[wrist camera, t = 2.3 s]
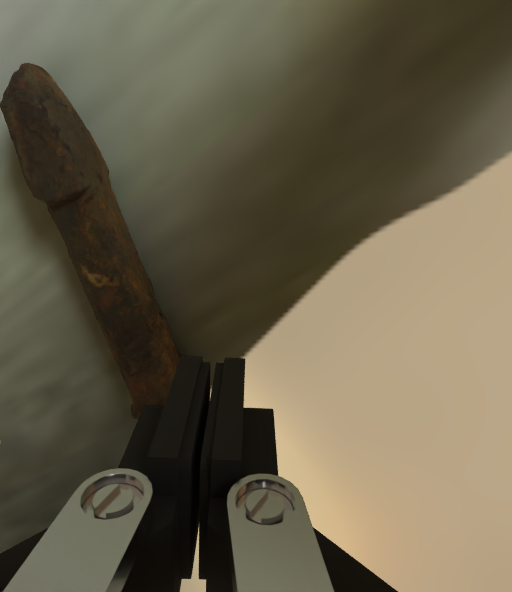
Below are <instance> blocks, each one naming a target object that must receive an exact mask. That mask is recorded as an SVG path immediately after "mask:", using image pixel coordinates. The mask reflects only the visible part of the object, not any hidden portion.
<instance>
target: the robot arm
mask: <svg viewBox="0 0 512 592" xmlns="http://www.w3.org/2000/svg"><path fill="white" fill-rule="evenodd" d="M244 375H245V359H241V358H225V360H224V363H216V368H215V374H214V380H213V386H212V392H211V398H210V363H208V362H203V357H195V356H181V358H180V361H179V364H178V367H177V370H176V373H175V376H174V379H173V382H172V385H171V388H170V391H169V394H168V397H167V400H166V403H165V405H164V404H145V406H144V407H143V410H142V412H141V414H140V417H139V419H138V422H137V424H136V426H135V429H134V431H133V434H132V436H131V439H130V441H129V443H128V446H127V448H126V451H125V453H124V455H123V458H122V460H121V463H120V465H119V467H118V468H117V469H111V470H106V471H103V472H100V473H98V474H95V475H93V476H92V477H90V478H89V479H87V480H86V481H84V482H83V483H82V484H81V485H80V486H79V487H78V488H77V489H76V491H75V492H74V494H73V495H72V496H71V498H70V499H69V500H68V502H67V503H66V505H65V506H64V507H63V509H62V510H61V512H60V513H59V514H58V516H57V517H56V519H55V520H54V521H53V523H52V524H51V525H50V527H49V528H47V529H45V530H43V531H41V532H40V533H38V534H36V535H34V536H32V537H30V538H29V539H27V540H25V541H23V542H21V543H19V544H18V545H16V546H14V547H12V548H10V549H8V550H6V551H5V552H3V553H1V554H0V592H180V586H181V579H191V575H192V570H193V562H194V555H195V548H196V541H197V534H198V527H199V579H206V592H398V591H396V590H395V589H394V588H392V587H391V586H390V585H388V584H387V583H386V582H384V581H383V580H382V579H380V578H379V577H378V576H376V575H375V574H374V573H373V572H371V571H370V570H369V569H367V568H366V567H365V566H363V565H362V564H361V563H359V562H358V561H357V560H355V559H354V558H353V557H351V556H350V555H349V554H348V553H346V552H345V551H344V550H342V549H341V548H339V547H338V546H337V545H336V544H334V543H333V542H332V541H330V540H329V539H327V538H326V537H325V536H324V535H323V534H321V533H320V532H319V531H317V530H316V529H315V528H313V527H312V524H311V521H310V518H309V515H308V512H307V509H306V506H305V503H304V501H303V497H302V495H301V494H300V492H299V490H298V489H297V488H296V487H295V486H294V485H293V484H292V483H291V482H290V481H287V480H285V479H284V478H282V477H279V476H278V467H277V453H276V440H275V428H274V414H273V409H263V408H243V404H244V403H243V401H244V377H245V376H244Z"/></svg>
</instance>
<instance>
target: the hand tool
mask: <svg viewBox="0 0 512 592" xmlns="http://www.w3.org/2000/svg"><path fill="white" fill-rule="evenodd" d="M0 108H1V110H2V112H3V114H4V118H5V121H6V123H7V126H8V129H9V132H10V135H11V138H12V140H13V142H14V145H15V148H16V151H17V154H18V158H19V161H20V165H21V168H22V171H23V174H24V177H25V180H26V182H27V184H28V186H29V188H30V190H31V192H32V193H33V195H34V197H35V198H38V199H40V200H42V201H44V202H46V204H47V206H48V210H49V212H50V214H51V215H52V218H53V219H54V221H55V223H56V225H57V227H58V229H59V231H60V233H61V235H62V237H63V239H64V241H65V243H66V246H67V248H68V252H69V255H70V258H71V260H72V262H73V264H74V267H75V269H76V271H77V273H78V276H79V278H80V281H81V283H82V286H83V288H84V291H85V293H86V295H87V298H88V300H89V302H90V304H91V307H92V309H93V311H94V314H95V316H96V319H97V320H98V322H99V324H100V327H101V329H102V331H103V334H104V336H105V338H106V340H107V342H108V345H109V347H110V350H111V352H112V354H113V356H114V358H115V360H116V362H117V364H118V366H119V368H120V370H121V373H122V376H123V378H124V380H125V381H126V384H127V386H128V389H129V391H130V394H131V397H132V401H133V404H132V406H131V412H132V416H133V418H135V419H139V417H140V414H141V412H142V410H143V407H144V406H145V404H164V405H165V403H166V400H167V397H168V394H169V391H170V388H171V385H172V382H173V379H174V376H175V373H176V370H177V367H178V364H179V361H180V358H181V356H182V355H180V354H178V352H177V350H176V347H175V344H174V341H173V339H172V335H171V331H170V328H169V326H168V324H167V322H166V318H165V316H164V315H163V314H162V313H161V311H160V309H159V306H158V303H157V301H156V299H155V296H154V293H153V289H152V284H151V281H150V279H149V278H148V277H147V274H146V272H145V270H144V268H143V265H142V263H141V261H140V258H139V256H138V253H137V251H136V248H135V246H134V243H133V241H132V239H131V236H130V233H129V231H128V228H127V226H126V223H125V221H124V218H123V216H122V214H121V211H120V209H119V206H118V203H117V201H116V198H115V196H114V193H113V191H112V188H111V184H110V180H109V176H108V175H109V170H108V168H107V165H106V163H105V161H104V159H103V157H102V154H101V152H100V151H99V149H98V147H97V145H96V143H95V141H94V139H93V138H92V136H91V134H90V132H89V130H87V128H86V127H85V125H84V123H83V122H82V120H81V119H80V117H79V115H78V114H77V112H76V111H75V109H74V108H73V106H72V105H71V103H70V102H69V100H68V99H67V97H66V96H65V95H64V93H63V92H62V91H61V89H60V88H59V87H58V85H57V84H56V82H55V81H54V80H53V78H52V77H51V76H50V75H49V74H48V72H47V71H45V70H44V69H43V68H41V67H39V66H37V65H34V64H30V63H24V64H22V65H21V66H20V68H19V70H17V71H16V72H14V73H13V75H12V77H11V80H10V82H9V85H8V87H7V89H6V90H5V92H4V94H3V99H2V101H1V103H0Z"/></svg>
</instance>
